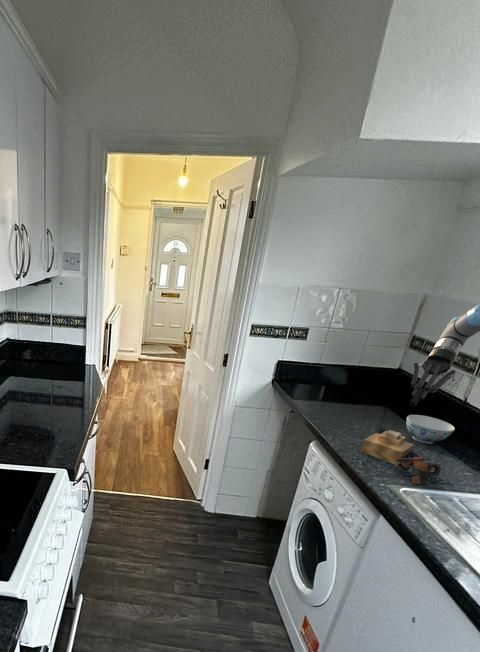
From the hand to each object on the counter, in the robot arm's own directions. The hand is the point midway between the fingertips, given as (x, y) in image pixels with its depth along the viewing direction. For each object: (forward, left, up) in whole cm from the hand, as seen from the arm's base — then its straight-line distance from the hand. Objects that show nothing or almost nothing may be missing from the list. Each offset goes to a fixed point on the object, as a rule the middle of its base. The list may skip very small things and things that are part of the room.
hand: (412, 404), depth 149 cm
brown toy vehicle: (-12, +24, -17) cm, 32 cm away
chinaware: (-4, -16, -17) cm, 24 cm away
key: (0, +11, -10) cm, 15 cm away
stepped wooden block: (0, +13, -17) cm, 21 cm away
